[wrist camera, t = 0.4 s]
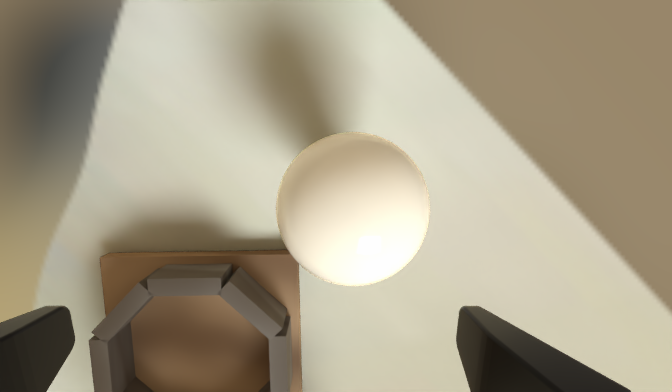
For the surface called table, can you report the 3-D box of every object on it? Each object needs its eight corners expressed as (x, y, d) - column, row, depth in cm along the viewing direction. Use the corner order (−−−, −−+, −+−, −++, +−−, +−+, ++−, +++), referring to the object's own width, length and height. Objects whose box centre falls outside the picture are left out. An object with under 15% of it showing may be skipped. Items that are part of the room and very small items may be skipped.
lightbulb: (291, 137, 23) (258, 132, 12) (394, 134, 23) (453, 125, 12) (296, 238, 24) (269, 317, 13) (395, 234, 24) (451, 310, 13)
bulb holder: (302, 419, 26) (298, 462, 22) (126, 423, 25) (94, 468, 22) (298, 249, 24) (293, 267, 21) (109, 252, 24) (71, 271, 20)
